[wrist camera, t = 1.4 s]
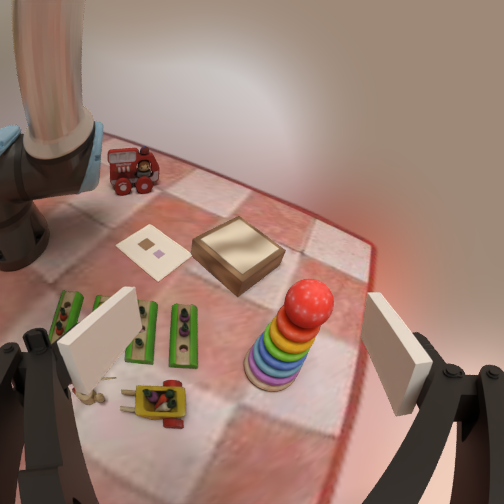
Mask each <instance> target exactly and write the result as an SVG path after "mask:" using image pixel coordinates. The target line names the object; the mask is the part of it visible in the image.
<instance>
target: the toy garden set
mask: <svg viewBox="0 0 504 504" xmlns="http://www.w3.org/2000/svg"><path fill="white" fill-rule="evenodd" d="M109 298H110V297H106V296H101V295H98V296H96V299H95V303H94V306H93V311H94V310H96V309H97V308H98V307H99V306H101V305H102V304H103V303H104V302H105V301H107V300H108V299H109ZM83 299H84V297H83V295H82V294H81V293H79V292H67V291H65V290H63V291H62V294H61V297H60V300H59V303H58V306H57V309H56V312H55V315H54V319H53V322H52V326H51V329H50V332H49V336H48V337H49V340H50V343H51V344H52V343H53V342H55V341H56V340H57V339H58V338H59V337H60V336H62V335H63V334H65V332H66V331H68V330H69V329H70V328H71V327H72V326H74V325H75V324H77V321H78V317H79V313H80V310H81V306H82V302H83ZM137 301H138V307H139V313H140V318H141V324H142V329H143V330H145V331H144V332H139V333H138V334H137V335H136V337H135V338H134V339H133V340H132V341H131V343H130V344H129V345H128V346H127V348H126V351H125V362H131V363H140V364H151V365H153V356H154V341H155V329H156V318H157V309H158V304H157V303H156V302H154V301H140V300H137ZM68 306H70V307H69V308H67V307H68ZM93 311H92V312H93ZM182 348H185V349H186V350H187V352H181V351H180V349H182ZM169 367H175V368H193V369H197V368H198V349H197V307H196V306H195V305H192V304H191V305H182V304H174V305H173V306H172V312H171V328H170V348H169ZM115 378H116V377H106V378H102V379H101V380H107V379H115ZM70 384H73V383H72V382H71V383H70ZM72 391H73V392H74V393H75V394H76V396H77V397H78V398H79V399H80V400H81V401H82V402H83V403H84V404H87V405H91V404H93V403H95V401H98V402H103V401H104V396H103V394H101V393H98V394H96V392H95V391H94V390H92V391H91V393H90V394H89V395H86V394H82V393H79V392H76V390H75V388H73V389H72ZM121 393H122V394H128V395H136V408H132V407H123V406H120V410H121V411H128V412H135V413H136V415H138V416H142V417H145V418H148V419H152V420H160V419H163V426H164V427H165V428H178V429H182V428H183V420H181V419H176V417H183V416H185V415H186V403H185V388H183V387H182V383H181V382H180V381H177V380H167V381H164V382H163V386H139V385H138V386H136V391H132V390H121Z"/></svg>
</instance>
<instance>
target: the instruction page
mask: <svg viewBox="0 0 504 504" xmlns="http://www.w3.org/2000/svg"><path fill="white" fill-rule="evenodd" d="M116 247H117V248H118V249H120V250H121V251H122V252H123V253H124V254H125V255H126V256H128V257H129V258H130V259H131V260H132V261H133V262H134V263H136V264H137V265H138V266H139V267H140V268H142V269H143V270H144V271H145V272H146V273H148V274H149V275H150V276H151V277H152V278H154V279H155V280H156V281H157V282H159V281H161V280H162V279H163V278H164V277H166V276H167V275H168V274H170V273H171V272H172V271H174V270H175V269H176V268H177V267H179V266H180V265H181V264H183V263H184V262H185V261H187V260H188V259H189V258H191V257H192V255H191V253H190V252H189V251H187V250H186V249H184V248H183V247H182V246H180V245H179V244H177V243H176V242H175V241H173V240H172V239H170V238H169V237H168V236H166V235H165V234H163V233H162V232H161V231H159V230H158V229H156V228H155V227H154V226H152V225H151V224H149V225H147V226H146V227H144V228H142V229H141V230H139V231H137V232H136V233H134V234H133V235H131V236H129V237H128V238H126V239H124V240H123V241H121V242H120V243H118V244H117V245H116Z"/></svg>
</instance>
